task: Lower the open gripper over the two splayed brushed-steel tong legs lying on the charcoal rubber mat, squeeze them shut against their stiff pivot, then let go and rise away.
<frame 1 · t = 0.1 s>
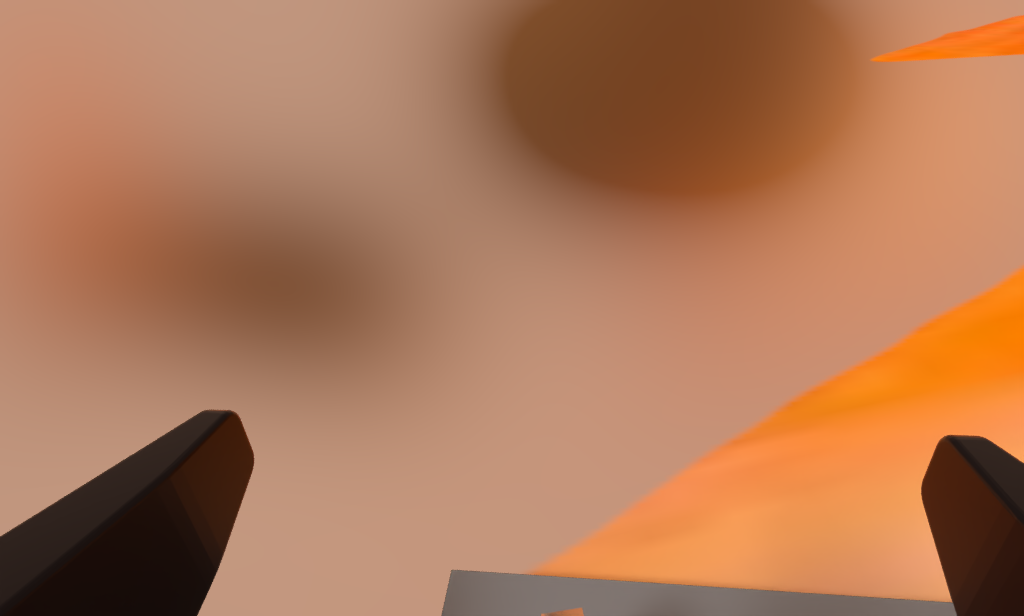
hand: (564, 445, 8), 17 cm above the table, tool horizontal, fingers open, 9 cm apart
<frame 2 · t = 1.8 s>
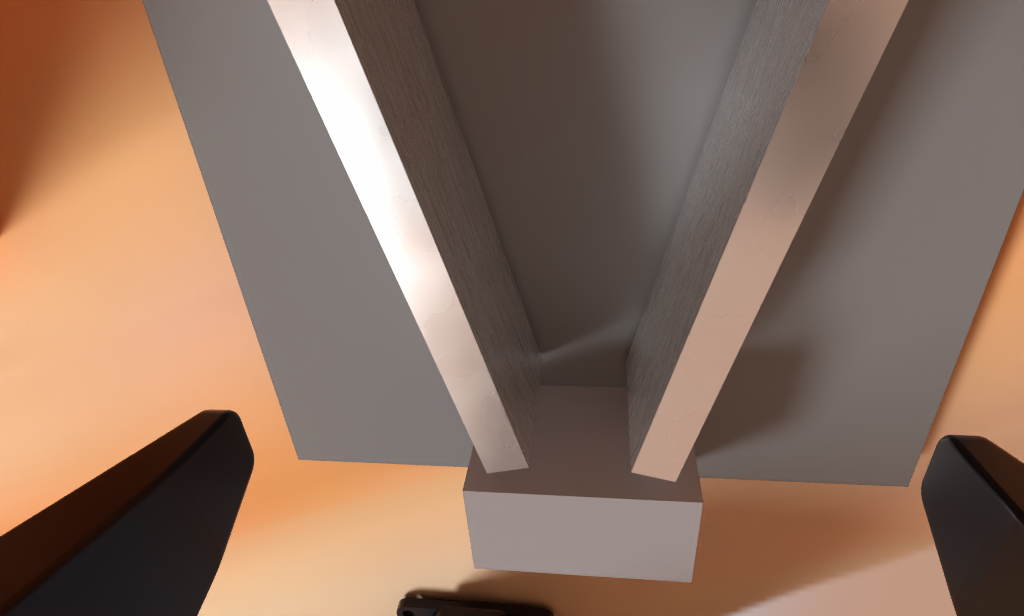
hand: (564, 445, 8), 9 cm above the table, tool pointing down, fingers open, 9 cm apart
tong mat: (584, 113, 15), on the table
tong leg 2: (412, 151, 13), point 3 cm above the table, hinge at 14.0°
tong leg 1: (759, 144, 12), point 3 cm above the table, hinge at -14.0°
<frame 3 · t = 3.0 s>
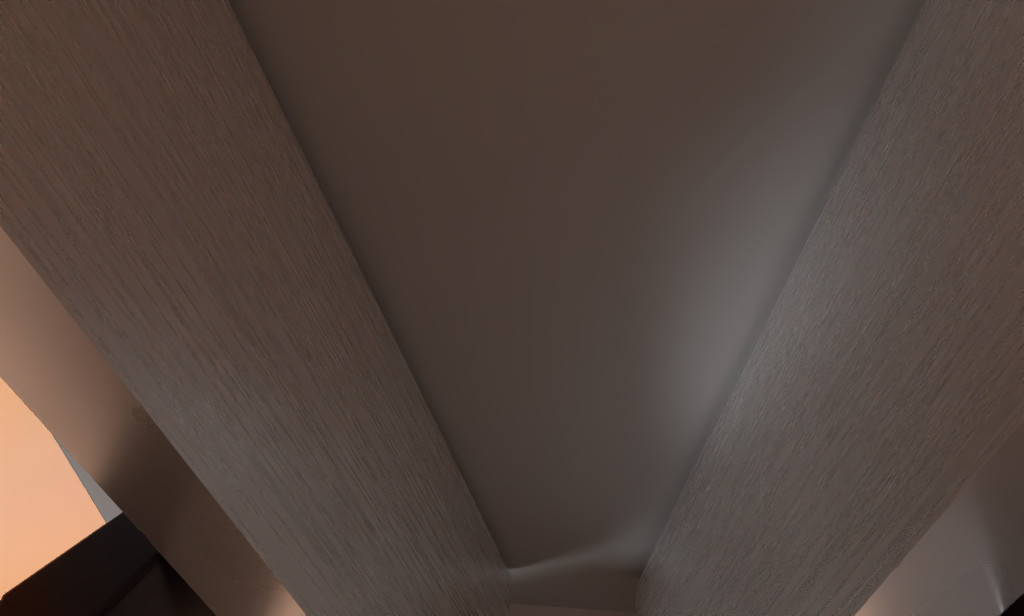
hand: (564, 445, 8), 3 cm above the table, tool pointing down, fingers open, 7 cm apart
tong mat: (570, 252, 10), on the table
tong leg 2: (265, 363, 7), point 3 cm above the table, hinge at 14.0°, touching gripper
tong leg 1: (890, 378, 6), point 3 cm above the table, hinge at -14.0°, touching gripper
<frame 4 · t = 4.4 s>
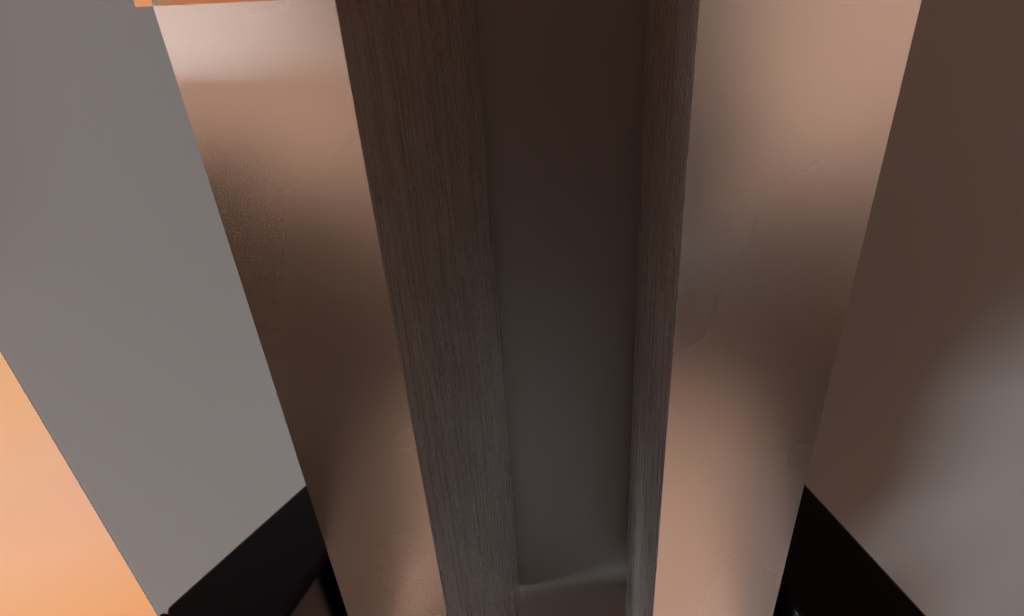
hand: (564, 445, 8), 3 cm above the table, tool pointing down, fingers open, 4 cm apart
tong mat: (570, 272, 10), on the table
tong leg 2: (426, 373, 7), point 3 cm above the table, hinge at -0.4°, touching gripper
tong leg 1: (693, 380, 7), point 3 cm above the table, hinge at 0.6°, touching gripper
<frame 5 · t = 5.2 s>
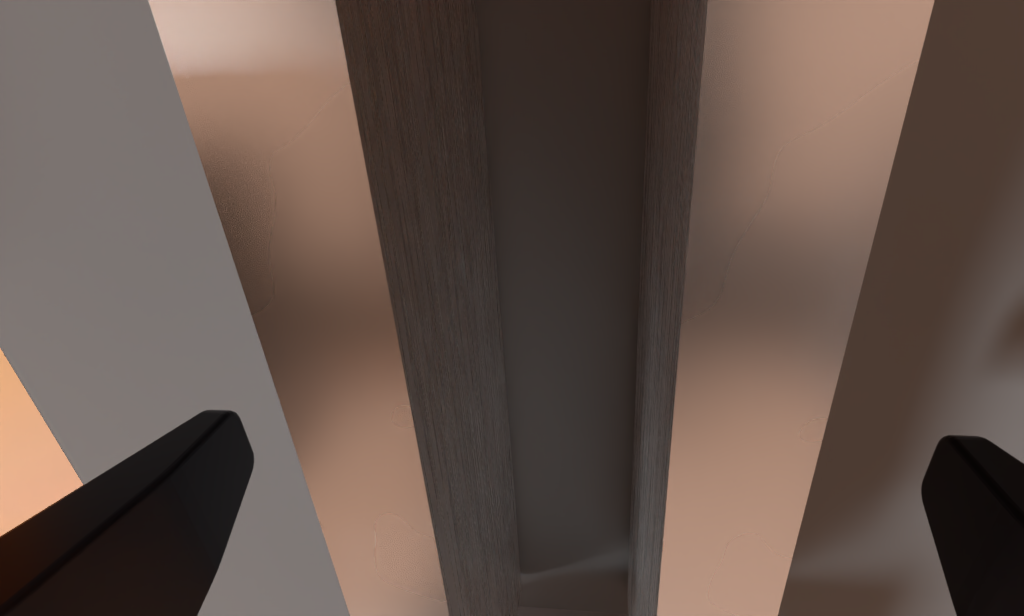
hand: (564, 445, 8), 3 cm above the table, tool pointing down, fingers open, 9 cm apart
tong mat: (572, 254, 10), on the table
tong leg 2: (425, 354, 7), point 3 cm above the table, hinge at -0.4°
tong leg 1: (699, 360, 7), point 3 cm above the table, hinge at 0.6°
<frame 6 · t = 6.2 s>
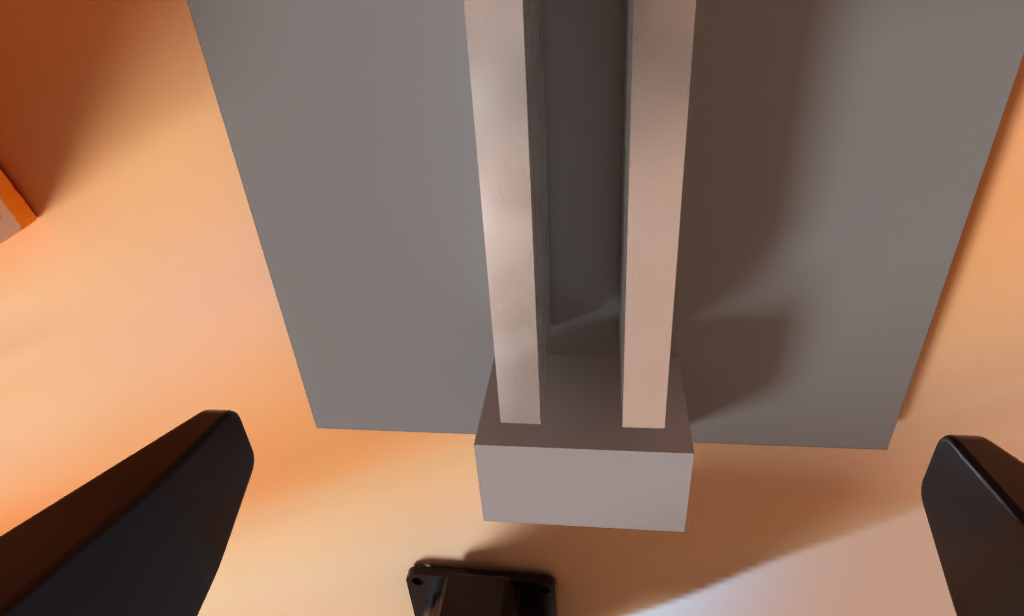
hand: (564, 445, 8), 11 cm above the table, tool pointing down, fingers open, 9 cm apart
tong mat: (585, 98, 17), on the table
tong leg 2: (514, 117, 14), point 3 cm above the table, hinge at -0.4°
tong leg 1: (650, 113, 14), point 3 cm above the table, hinge at 0.6°
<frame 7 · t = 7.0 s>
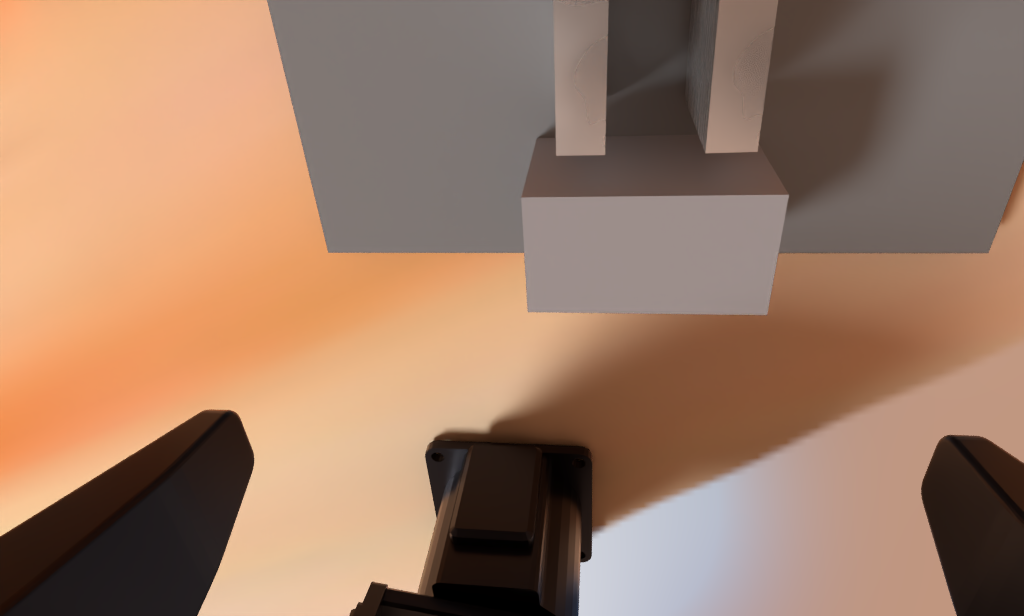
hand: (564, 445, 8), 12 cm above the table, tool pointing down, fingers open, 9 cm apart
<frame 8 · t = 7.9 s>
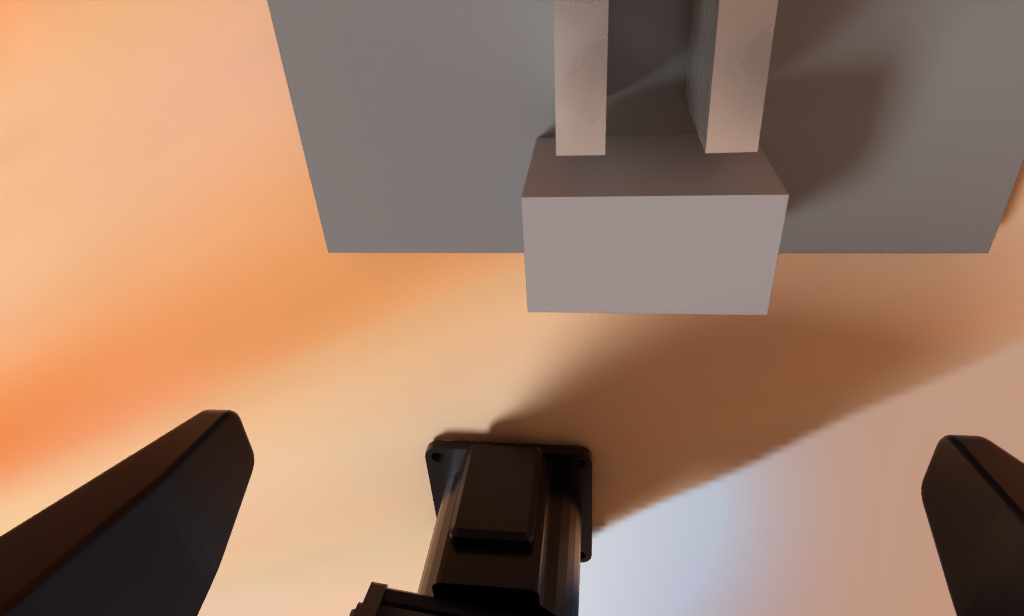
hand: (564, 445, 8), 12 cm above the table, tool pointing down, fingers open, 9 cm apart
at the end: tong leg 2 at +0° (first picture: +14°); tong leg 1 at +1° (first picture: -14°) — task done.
